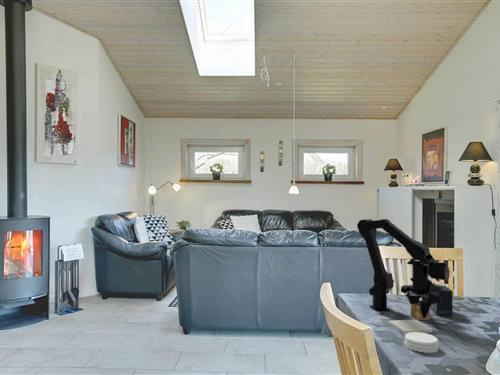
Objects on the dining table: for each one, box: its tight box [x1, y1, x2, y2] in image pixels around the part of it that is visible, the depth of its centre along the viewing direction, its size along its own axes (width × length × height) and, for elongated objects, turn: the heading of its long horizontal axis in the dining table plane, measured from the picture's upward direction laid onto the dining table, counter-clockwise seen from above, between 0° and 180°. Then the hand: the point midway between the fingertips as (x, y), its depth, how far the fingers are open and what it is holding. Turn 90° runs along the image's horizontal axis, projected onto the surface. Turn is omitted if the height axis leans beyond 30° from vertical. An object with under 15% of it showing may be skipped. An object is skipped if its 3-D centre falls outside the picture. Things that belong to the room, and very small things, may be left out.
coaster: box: [404, 332, 440, 354], centre depth 122 cm, size 10×10×4 cm
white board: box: [388, 319, 434, 335], centre depth 139 cm, size 11×11×1 cm
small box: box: [430, 284, 454, 317], centre depth 160 cm, size 11×6×10 cm, turn 168°
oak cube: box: [410, 304, 431, 321], centre depth 151 cm, size 5×5×5 cm
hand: (420, 315), depth 151 cm, fingers closed on oak cube, 5 cm apart
